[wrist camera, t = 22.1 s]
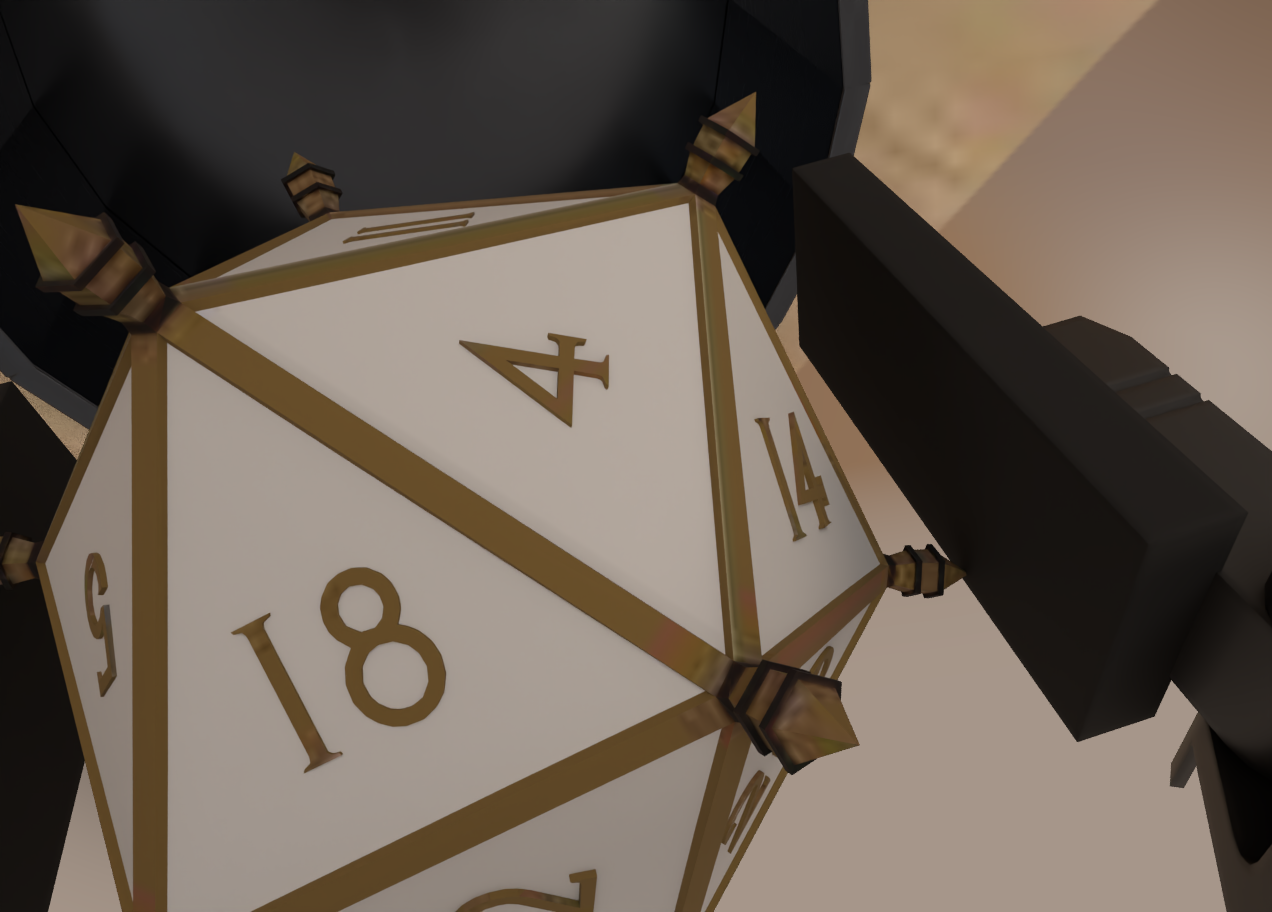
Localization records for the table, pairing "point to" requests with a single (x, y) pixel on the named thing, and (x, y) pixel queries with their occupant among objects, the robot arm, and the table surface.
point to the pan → (386, 126)
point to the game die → (451, 555)
